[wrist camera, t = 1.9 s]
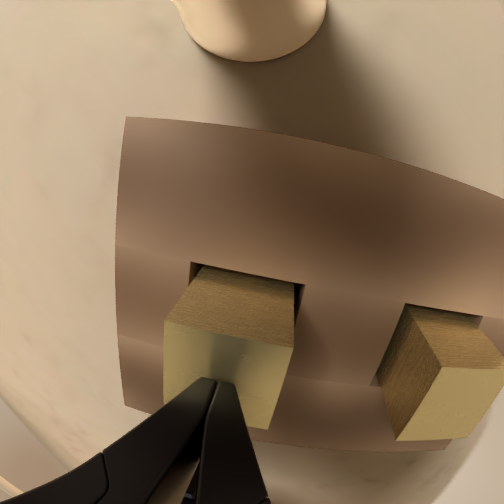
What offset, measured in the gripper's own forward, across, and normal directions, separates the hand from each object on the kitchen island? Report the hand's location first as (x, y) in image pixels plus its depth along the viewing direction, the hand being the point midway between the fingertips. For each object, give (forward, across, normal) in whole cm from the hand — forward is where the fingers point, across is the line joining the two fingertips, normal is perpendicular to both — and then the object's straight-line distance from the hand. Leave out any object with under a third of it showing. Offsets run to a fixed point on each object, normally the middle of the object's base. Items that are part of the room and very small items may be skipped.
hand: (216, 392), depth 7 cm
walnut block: (+7, -4, 0) cm, 8 cm away
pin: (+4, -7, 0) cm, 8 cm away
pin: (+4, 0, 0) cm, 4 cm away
